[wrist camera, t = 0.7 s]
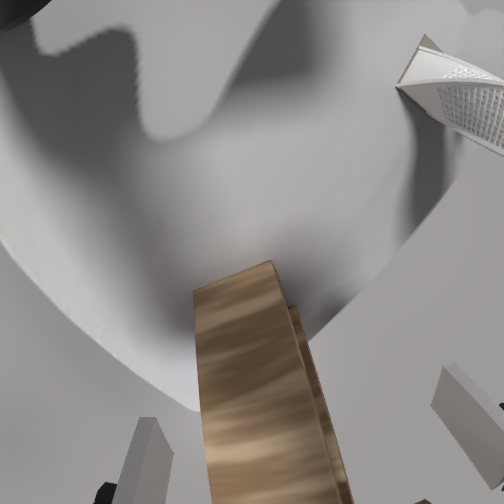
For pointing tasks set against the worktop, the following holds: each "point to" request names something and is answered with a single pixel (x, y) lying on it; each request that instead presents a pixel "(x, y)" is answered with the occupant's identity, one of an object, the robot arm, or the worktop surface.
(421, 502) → the walnut rail
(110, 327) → the worktop surface
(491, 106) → the skyscraper
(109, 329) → the worktop surface
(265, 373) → the bridge
